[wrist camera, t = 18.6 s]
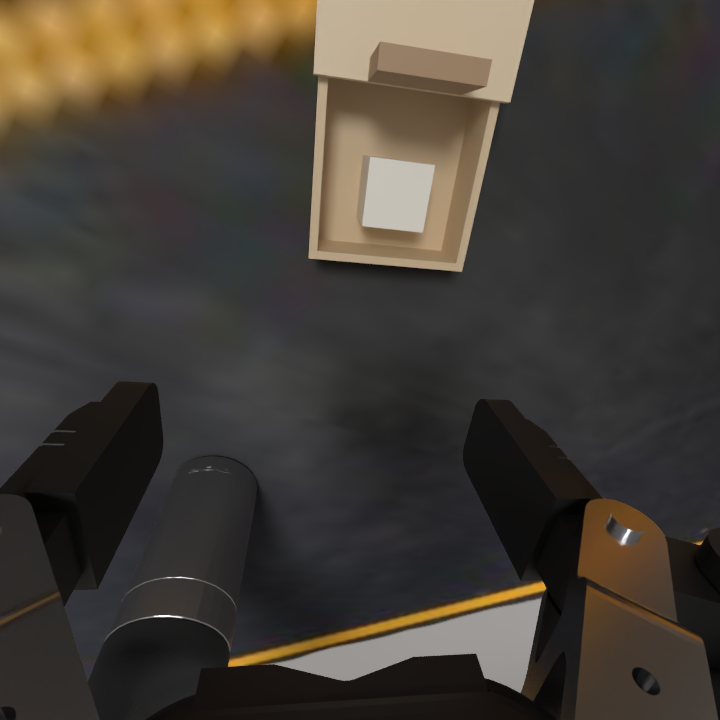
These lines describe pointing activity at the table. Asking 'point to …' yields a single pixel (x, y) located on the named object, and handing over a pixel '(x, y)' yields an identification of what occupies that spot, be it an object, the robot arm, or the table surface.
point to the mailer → (403, 142)
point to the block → (394, 193)
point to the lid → (424, 44)
